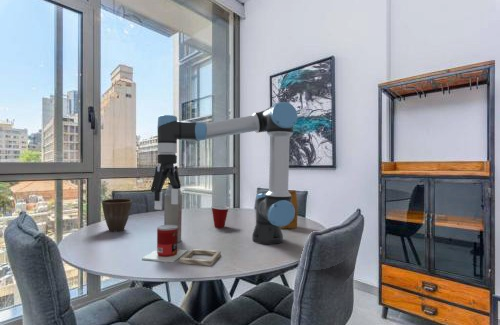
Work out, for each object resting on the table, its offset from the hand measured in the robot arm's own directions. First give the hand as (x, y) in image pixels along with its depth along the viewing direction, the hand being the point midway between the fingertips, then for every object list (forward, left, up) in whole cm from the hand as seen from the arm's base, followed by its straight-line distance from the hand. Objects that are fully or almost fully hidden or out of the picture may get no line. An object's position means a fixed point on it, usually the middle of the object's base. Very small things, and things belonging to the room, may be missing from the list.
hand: (166, 206), depth 114 cm
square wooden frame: (-15, 0, -20) cm, 25 cm away
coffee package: (-44, -63, -20) cm, 79 cm away
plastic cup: (-6, -54, -20) cm, 58 cm away
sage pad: (0, 0, -20) cm, 20 cm away
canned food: (-1, 0, -19) cm, 19 cm away
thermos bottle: (+7, -20, -20) cm, 29 cm away
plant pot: (+46, -32, -20) cm, 60 cm away
